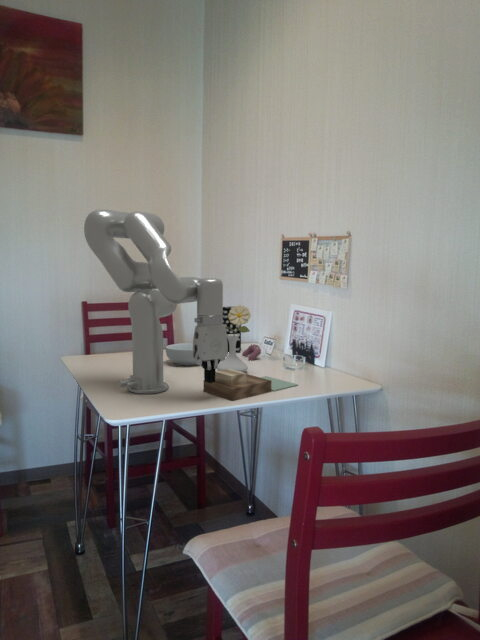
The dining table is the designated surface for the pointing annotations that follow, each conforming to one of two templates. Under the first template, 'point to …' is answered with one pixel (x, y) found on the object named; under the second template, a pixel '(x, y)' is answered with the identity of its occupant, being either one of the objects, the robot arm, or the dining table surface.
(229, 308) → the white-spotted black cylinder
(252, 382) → the serving board
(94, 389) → the dining table surface
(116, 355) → the dining table surface
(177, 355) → the cereal bowl
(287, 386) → the rubber mat
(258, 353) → the pink curved arch
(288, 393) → the dining table surface
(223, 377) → the beige block
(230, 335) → the flower in vase
